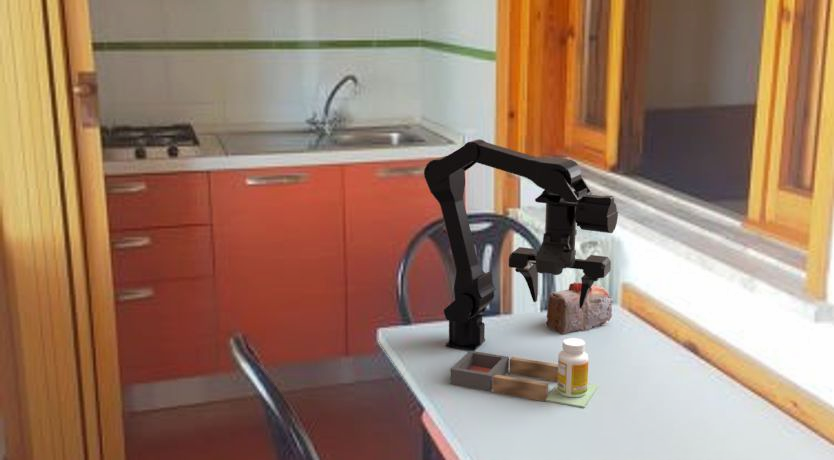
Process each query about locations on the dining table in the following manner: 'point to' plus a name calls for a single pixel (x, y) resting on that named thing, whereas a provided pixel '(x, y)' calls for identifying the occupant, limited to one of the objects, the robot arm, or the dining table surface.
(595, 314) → the food item
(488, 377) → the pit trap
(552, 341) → the dining table surface
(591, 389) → the pad
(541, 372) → the walnut trough
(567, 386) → the supplement bottle
